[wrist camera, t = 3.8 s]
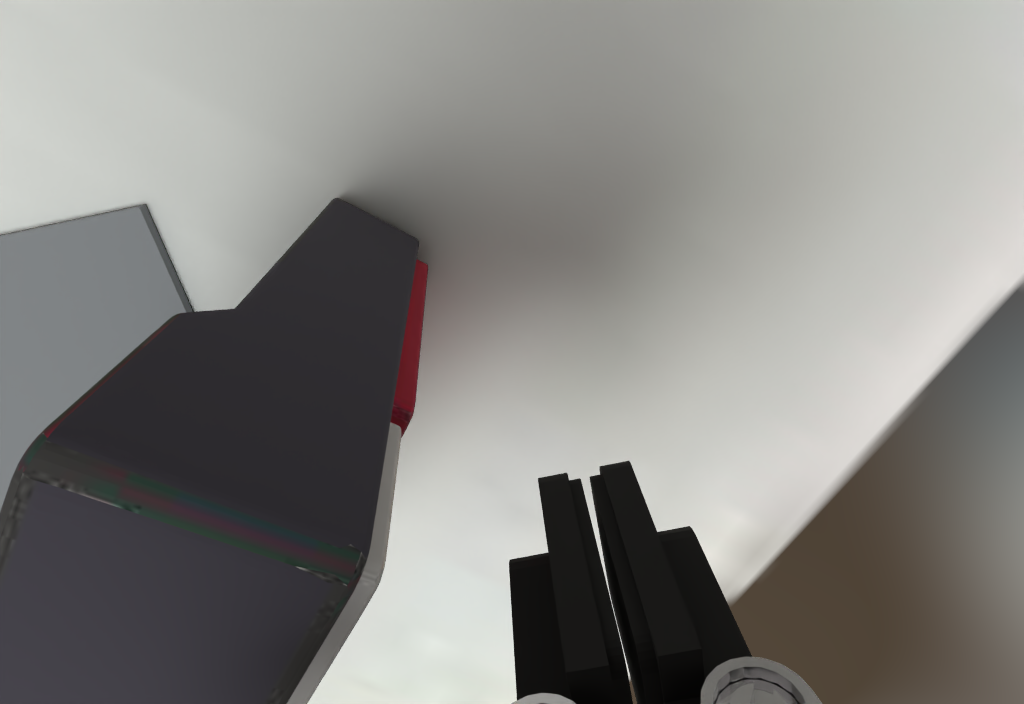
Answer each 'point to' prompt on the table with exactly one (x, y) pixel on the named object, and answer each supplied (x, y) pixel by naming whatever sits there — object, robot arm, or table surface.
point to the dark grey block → (221, 489)
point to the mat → (74, 315)
